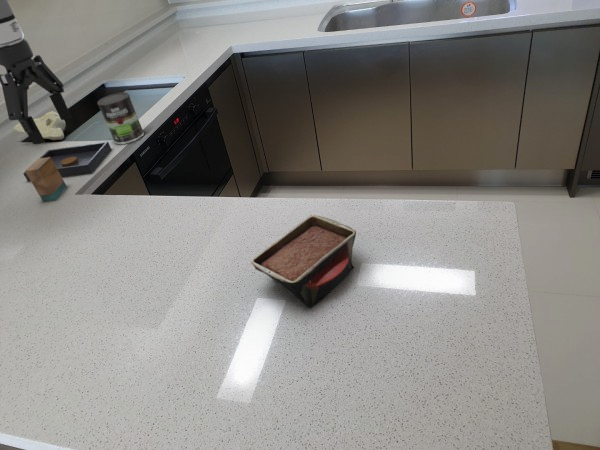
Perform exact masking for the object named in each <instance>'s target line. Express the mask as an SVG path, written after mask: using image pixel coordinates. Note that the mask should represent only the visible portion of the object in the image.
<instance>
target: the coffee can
mask: <svg viewBox="0 0 600 450" xmlns="http://www.w3.org/2000/svg"><path fill="white" fill-rule="evenodd" d="M96 103H97V106H98V107H99V110H100V112H101V114H102V116H103V119H104V121H105V123H106V126H107V128H108V130H109V132H110V135H111V137H112V139H113V142H114V143H115V144H117V145H127V144H131V143H134V142H136V141H138V140H140V139H142V137H144V134H145V132H144V130H143V127H142V125H141V122H140V119H139V117H138V115H137V111H136V110H135V108H134V104H133V102H132V100H131V97H130V94H129V93H128V92H115V93H112V94H108V95H106V96H103V97H102V98H100V99H99V100H98V101H97V102H96Z"/></svg>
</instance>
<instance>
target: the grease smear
mask: <svg viewBox="0 0 600 450" xmlns="http://www.w3.org/2000/svg"><path fill="white" fill-rule="evenodd" d="M77 162H78V159H77V157H69V158H66V159H64V160H63V161H61V165H62V166H63V167H68V166H72V165H74V164H75V163H77Z"/></svg>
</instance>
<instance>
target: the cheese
mask: <svg viewBox="0 0 600 450" xmlns="http://www.w3.org/2000/svg"><path fill="white" fill-rule="evenodd" d="M29 116H30V115H28V117H29ZM33 120H34V122H35V124H36V126H37V127H38V129H39V131H40V133H41V135H42V137H43V138H44V140H46V139H47V140H51V141H61V140H63V139H65V134H64V131H65V130H66V126H67V125H66V121H65V120H61V118H60V116H59V114H58V112H55V111H51V110H50V111H48V112H46V113H45V114H44V115H43V116H41V117H38V118H33ZM13 130H14V131H15V132H17V133H22V134H26V135H28V134H27V133H26V132H25V131H24V129H23V127H22V125H21V124H20V122H18V123H17V124H16V125H14V127H13Z"/></svg>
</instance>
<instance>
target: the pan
mask: <svg viewBox="0 0 600 450" xmlns="http://www.w3.org/2000/svg"><path fill="white" fill-rule="evenodd" d="M112 150H113V149H112V148H111V145H110V143H109V141H102V142H96V143H88V144H82V145H81V144H80V145H73V146H67V147H59V148H52V149H48V150H46V151H45V152H44V153H43V154H42V155H41V156H40V157H39V158H47V157H51V158H52V160H53V162H54V164H55V166H56V167H57V169H58V171H59V173H60V175H61V177H62V178H67V177H68V178H69V177H75V176H84V175H91V174H93V173H94V172H95V170H96V169H97V168H98V167H99V166H100V165H101V163H102V162H103V161H104V159H105V158H107V156H108V155H109V154H110V153H111V152H112ZM69 157H77V159H78V162H77V163H75V164H74V165H72V166H68V167H63V166H62V165H61V161H63V160H64V159H66V158H69ZM22 175H23V176H24V178H25V179H26V180H27V182H30V183H31V181H30V179H29V177H28V176H27V174H26V172H25V171H24V172H23V173H22Z"/></svg>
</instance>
